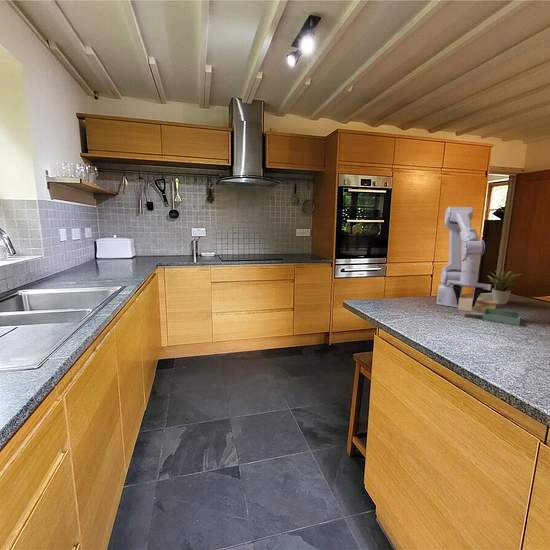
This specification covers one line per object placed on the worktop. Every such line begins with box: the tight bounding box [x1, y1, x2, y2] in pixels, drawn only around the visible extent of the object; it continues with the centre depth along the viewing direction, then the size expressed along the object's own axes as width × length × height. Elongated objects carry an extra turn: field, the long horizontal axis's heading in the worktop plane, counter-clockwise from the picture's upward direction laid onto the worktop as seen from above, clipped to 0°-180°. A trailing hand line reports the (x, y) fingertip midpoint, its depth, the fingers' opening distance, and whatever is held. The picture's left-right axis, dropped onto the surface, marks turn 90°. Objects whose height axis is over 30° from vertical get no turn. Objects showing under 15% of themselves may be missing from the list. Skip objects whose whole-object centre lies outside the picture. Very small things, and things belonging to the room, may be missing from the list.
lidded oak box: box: [471, 296, 498, 314], centre depth 125 cm, size 9×6×5 cm, turn 51°
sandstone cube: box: [457, 295, 474, 312], centre depth 118 cm, size 4×4×4 cm
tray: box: [481, 308, 521, 327], centre depth 114 cm, size 11×11×2 cm
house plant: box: [487, 269, 521, 305], centre depth 139 cm, size 14×14×16 cm
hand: (465, 305), depth 118 cm, fingers closed on sandstone cube, 4 cm apart
